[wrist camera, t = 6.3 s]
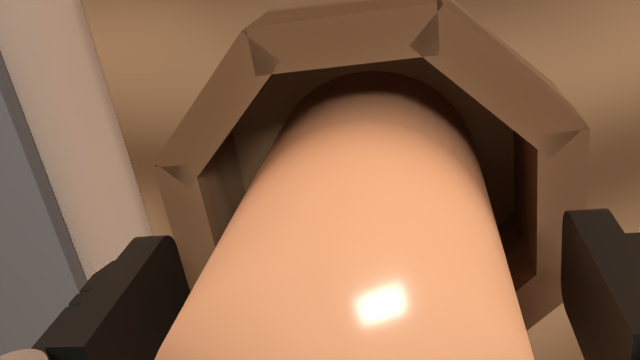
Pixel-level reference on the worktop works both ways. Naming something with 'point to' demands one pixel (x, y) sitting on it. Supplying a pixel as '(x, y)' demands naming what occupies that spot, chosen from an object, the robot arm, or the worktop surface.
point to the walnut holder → (397, 57)
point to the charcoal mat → (29, 235)
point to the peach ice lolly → (359, 241)
